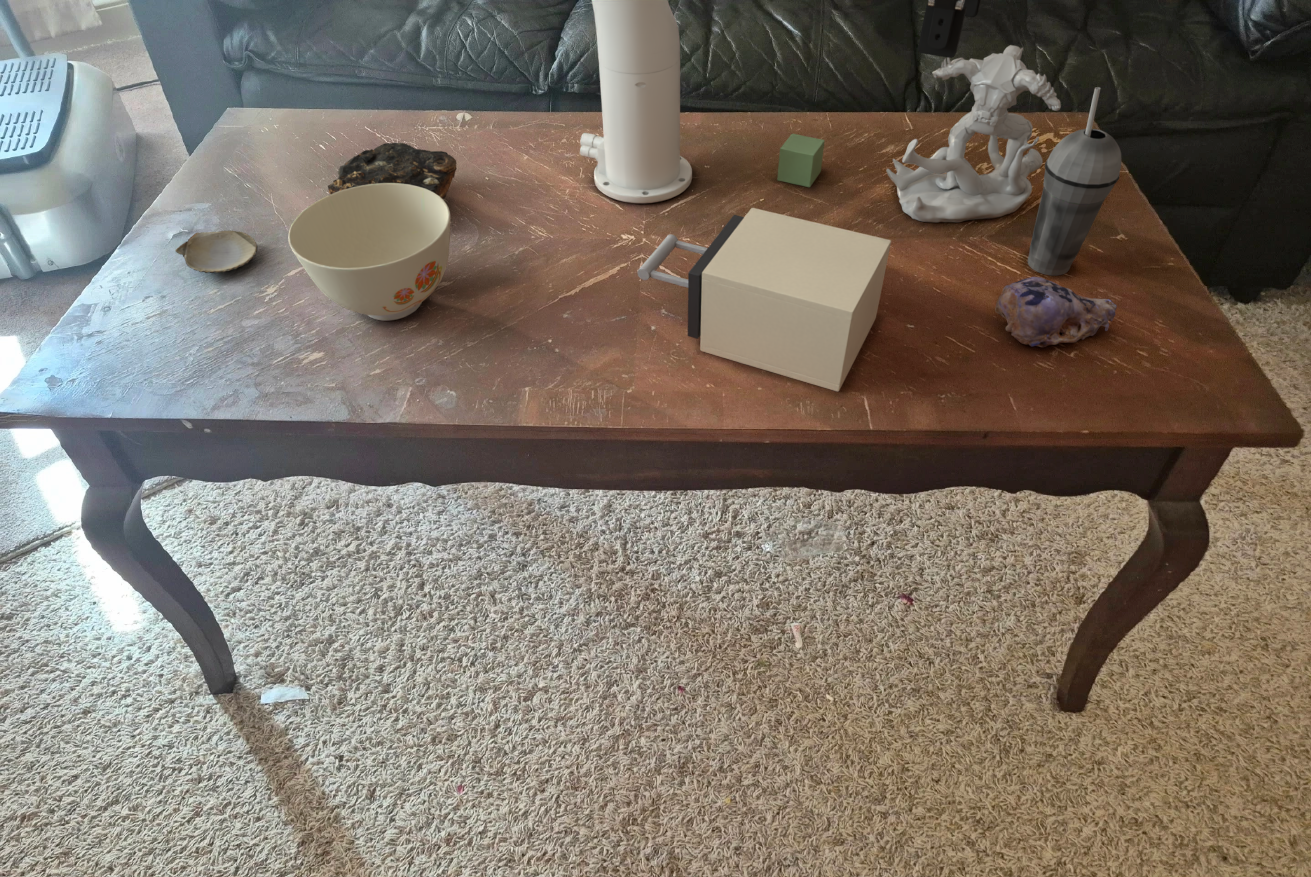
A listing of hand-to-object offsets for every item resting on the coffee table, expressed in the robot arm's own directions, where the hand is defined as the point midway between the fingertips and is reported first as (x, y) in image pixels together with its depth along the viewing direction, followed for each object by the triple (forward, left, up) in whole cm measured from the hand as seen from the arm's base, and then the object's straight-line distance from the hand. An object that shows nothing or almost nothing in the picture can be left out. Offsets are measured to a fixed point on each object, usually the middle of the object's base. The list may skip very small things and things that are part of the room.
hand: (948, 33), depth 79 cm
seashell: (-71, -29, -27) cm, 81 cm away
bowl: (-48, -27, -27) cm, 61 cm away
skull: (+17, -2, -27) cm, 31 cm away
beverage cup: (+15, +10, -27) cm, 32 cm away
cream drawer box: (-7, -14, -26) cm, 31 cm away
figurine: (+3, +20, -27) cm, 33 cm away
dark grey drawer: (-13, -14, -25) cm, 32 cm away
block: (-17, +17, -26) cm, 36 cm away
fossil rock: (-59, -11, -27) cm, 66 cm away
